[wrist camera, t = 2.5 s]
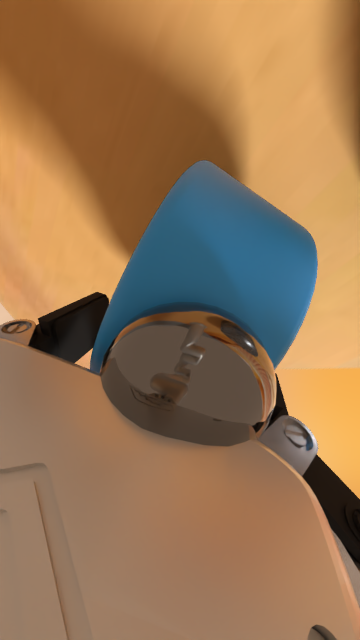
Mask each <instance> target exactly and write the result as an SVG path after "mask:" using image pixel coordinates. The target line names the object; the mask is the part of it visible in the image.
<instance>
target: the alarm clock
mask: <svg viewBox="0 0 360 640" xmlns="http://www.w3.org/2000/svg"><path fill="white" fill-rule="evenodd" d="M317 266H318V262H317V249H316V246H315V242H314V240H313V238H312V236H311V234H310V233H309V232H308V231H307V230H306V229H305V228H304V227H303V226H301V225H300V224H298V223H297V222H296V221H294V220H293V219H291V218H290V217H288V216H287V215H286V214H284V213H283V212H281V211H280V210H279V209H277V208H276V207H274V206H273V205H271V204H270V203H269V202H267V201H266V200H264V199H263V198H262V197H260V196H259V195H257V194H256V193H254V192H253V191H252V190H250V189H249V188H247V187H246V186H245V185H243V184H242V183H240V182H239V181H238V180H236V179H235V178H233V177H232V176H230V175H229V174H228V173H226V172H225V171H223V170H222V169H221V168H219V167H218V166H216V165H215V164H213V163H212V162H210V161H207V160H202V161H198V162H196V163H194V164H193V165H192V166H191V167H189V168H188V169H187V170H186V171H185V172H184V173H183V174H182V175H181V177H180V178H179V179H178V180H177V182H176V183H175V184H174V186H173V187H172V188H171V190H170V191H169V193H168V194H167V196H166V197H165V199H164V200H163V202H162V203H161V205H160V207H159V208H158V210H157V212H156V213H155V215H154V216H153V218H152V220H151V222H150V223H149V225H148V227H147V229H146V230H145V232H144V234H143V236H142V238H141V239H140V241H139V243H138V245H137V247H136V249H135V251H134V253H133V255H132V257H131V259H130V261H129V263H128V265H127V267H126V269H125V271H124V273H123V275H122V277H121V279H120V281H119V283H118V285H117V288H116V290H115V292H114V294H113V297H112V299H111V301H110V303H109V306H108V308H107V311H106V313H105V316H104V318H103V321H102V323H101V326H100V329H99V332H98V334H97V337H96V341H95V344H94V347H93V351H92V355H91V361H90V370H92V371H95V372H97V373H100V374H99V375H100V377H101V382H102V387H103V389H104V391H105V393H106V395H107V396H108V398H109V400H110V402H111V403H112V404H113V405H114V406H115V407H116V408H117V409H118V410H119V411H120V412H121V413H122V415H123V416H125V417H126V418H128V419H129V420H130V421H132V422H133V423H135V424H136V425H137V426H139V427H140V428H142V429H145V430H147V431H150V432H153V433H156V434H159V435H162V436H165V437H168V438H173V439H178V440H182V441H187V442H191V443H196V444H201V445H208V446H226V447H229V446H233V445H236V444H240V443H243V442H246V441H248V440H258V439H259V438H260V437H261V435H262V434H263V433H264V431H265V430H266V428H267V427H268V424H269V421H270V418H271V415H272V413H273V410H274V407H275V404H276V376H275V371H274V370H275V369H276V367H277V366H278V364H279V363H280V362H281V360H282V359H283V357H284V356H285V354H286V352H287V351H288V349H289V347H290V346H291V344H292V343H293V341H294V339H295V337H296V335H297V333H298V331H299V329H300V327H301V325H302V323H303V320H304V318H305V316H306V313H307V311H308V308H309V305H310V302H311V299H312V295H313V292H314V288H315V283H316V278H317Z"/></svg>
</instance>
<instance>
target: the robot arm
mask: <svg viewBox="0 0 360 640" xmlns="http://www.w3.org/2000/svg"><path fill="white" fill-rule="evenodd" d="M108 306H109V299H108V298H107V296H106V295H105V294H102V293H99V292H95V293H93V294H91V295H89V296H87V297H84V298H82V299H80V300H78V301H76V302H73V303H71V304H69V305H67V306H65V307H62V308H60V309H58V310H56V311H53V312H51V313H49V314H47V315H45V316H42V317H40V318H38V320H39V324H38V325H36V324H35V322H34V321H31V320H27V319H20V320H13V321H9V322H7V323H4V324H2V325H0V640H360V499H359V498H358V497H357V496H356V495H355V494H354V493H353V492H352V491H351V490H350V489H349V488H348V487H347V486H346V485H345V484H344V483H343V482H342V480H340V478H339V477H338V476H337V475H336V474H335V473H334V472H333V471H332V470H331V469H330V468H329V467H328V466H327V465H326V464H325V463H324V462H323V461H322V460H321V458H320V457H318V455H317V451H318V445H317V441H316V439H315V437H314V435H313V434H312V432H311V431H310V430H309V429H308V428H307V427H306V426H305V425H304V424H303V423H302V422H301V421H299V420H298V419H296V418H294V417H291V416H289V415H288V412H287V409H286V405H285V401H284V398H283V394H282V391H281V387H280V384H279V381H278V377H277V374H276V373H275V376H276V404H275V407H274V410H273V413H272V415H271V418H270V421H269V424H268V427H267V428H266V430H265V431H264V433H263V434H262V435H261V437H260V438H259V439H258V440H248V441H246V442H243V443H240V444H236V445H233V446H229V447H226V446H208V445H201V444H196V443H191V442H187V441H182V440H178V439H173V438H168V437H165V436H162V435H159V434H156V433H153V432H150V431H147V430H145V429H142V428H140V427H139V426H137V425H136V424H135V423H133V422H132V421H130V420H129V419H128V418H126V417H125V416H123V415H122V413H121V412H120V411H119V410H118V409H117V408H116V407H115V406H114V405H113V404H112V403H111V402H110V400H109V398H108V396H107V395H106V393H105V391H104V389H103V387H102V382H101V377H100V375H99V374H100V373H97V372H95V371H92V370H90V369H87V368H85V367H82V366H79V365H77V364H74V363H75V362H76V361H78V360H79V359H80V358H81V357H82V356H84V355H85V354H86V353H87V352H88V351H90V350H91V349H92V348H93V347H94V344H95V341H96V337H97V334H98V332H99V329H100V326H101V323H102V321H103V318H104V316H105V313H106V311H107V308H108Z"/></svg>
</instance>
